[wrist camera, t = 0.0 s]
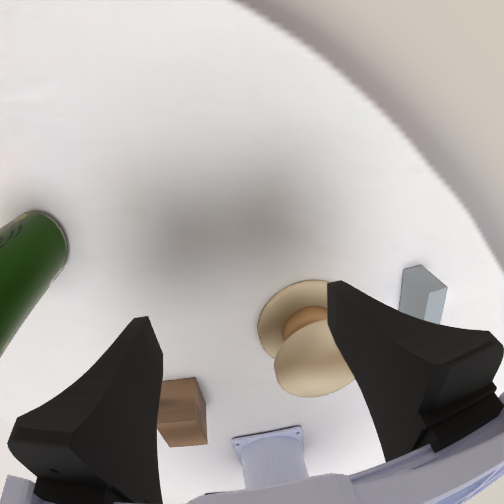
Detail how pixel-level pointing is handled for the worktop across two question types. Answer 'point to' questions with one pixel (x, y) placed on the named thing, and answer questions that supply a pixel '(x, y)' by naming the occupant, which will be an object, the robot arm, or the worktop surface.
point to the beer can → (27, 267)
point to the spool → (303, 341)
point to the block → (182, 413)
